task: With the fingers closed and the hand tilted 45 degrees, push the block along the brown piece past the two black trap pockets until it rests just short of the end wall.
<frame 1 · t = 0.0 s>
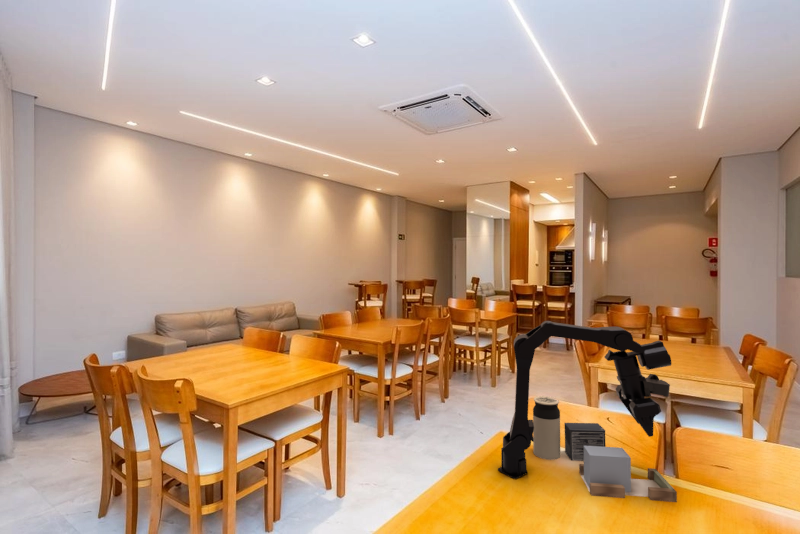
hand: (645, 429, 113), 15 cm above the table, tool pointing down, fingers open, 9 cm apart
small box: (584, 460, 129), on the table
travel mug: (546, 457, 131), on the table
brown piece: (624, 489, 111), on the table
block: (606, 484, 112), point 1 cm above the table, touching brown piece
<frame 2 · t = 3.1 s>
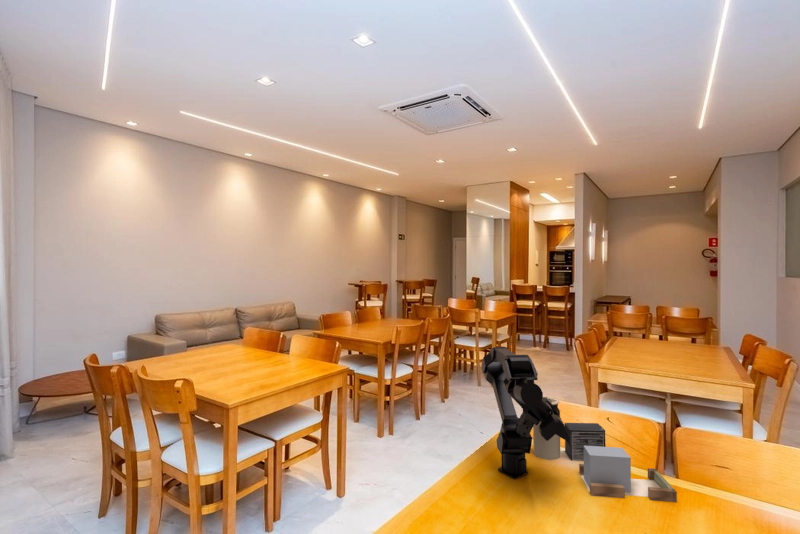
hand: (568, 439, 113), 12 cm above the table, tool tilted 45°, fingers closed
nothing on the table moved.
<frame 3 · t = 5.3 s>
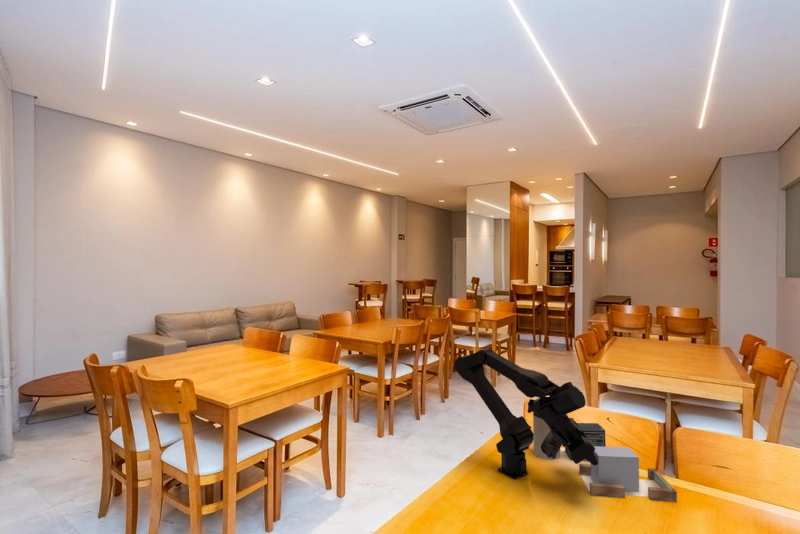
hand: (595, 464, 110), 7 cm above the table, tool tilted 40°, fingers closed
block: (614, 485, 112), point 1 cm above the table, touching brown piece
everything else where it was.
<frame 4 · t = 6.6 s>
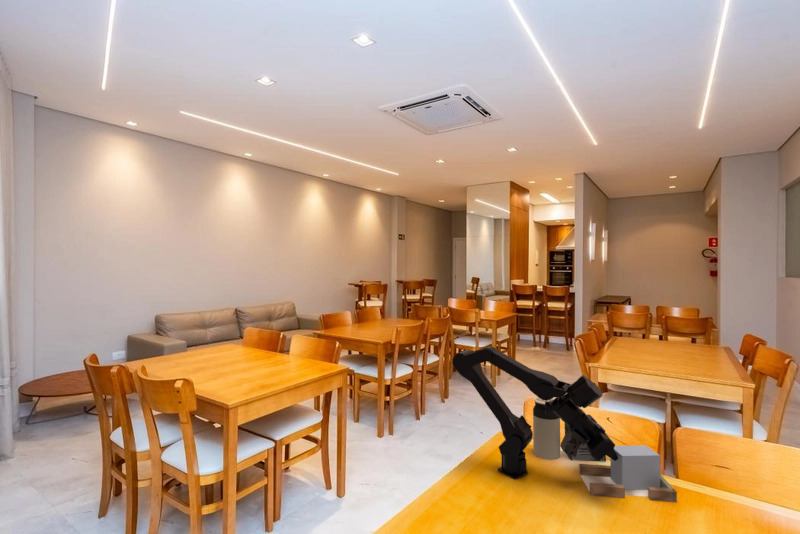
hand: (616, 459, 111), 8 cm above the table, tool tilted 45°, fingers closed
block: (634, 483, 112), point 1 cm above the table, touching gripper, brown piece
everything else where it was.
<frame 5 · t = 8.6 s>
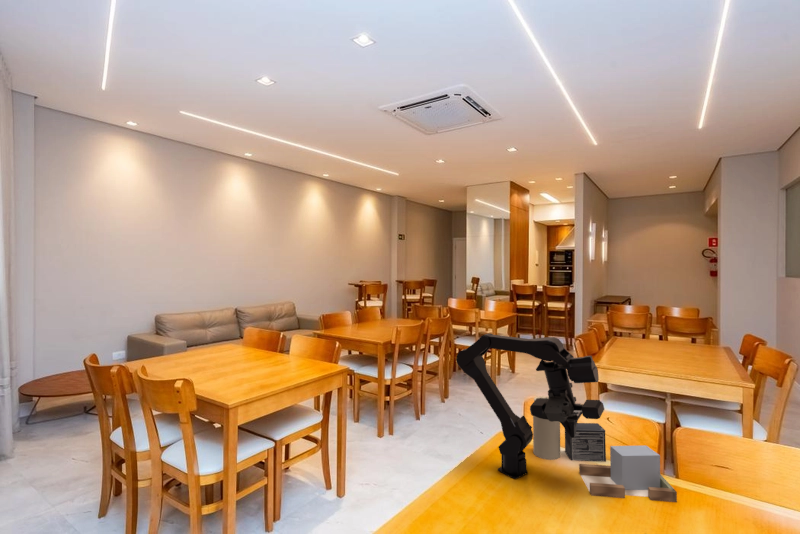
hand: (573, 437, 115), 13 cm above the table, tool tilted 15°, fingers closed
block: (634, 483, 112), point 1 cm above the table, touching brown piece
everything else where it was.
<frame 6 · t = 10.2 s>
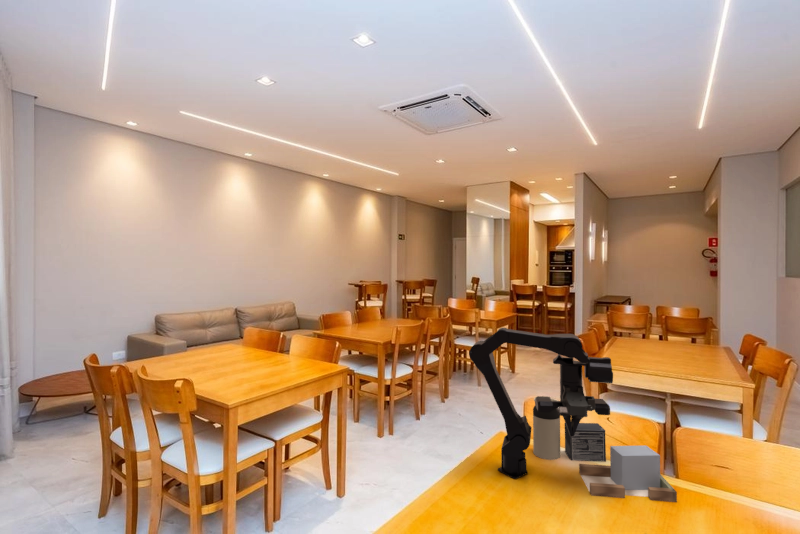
hand: (571, 436, 116), 12 cm above the table, tool pointing down, fingers closed
nothing on the table moved.
at the end: block inside the target area on the brown piece (1.9 cm from its centre), point 1.0 cm above the brown piece's base; block tilted 0°; block moved 7.8 cm from its start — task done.
